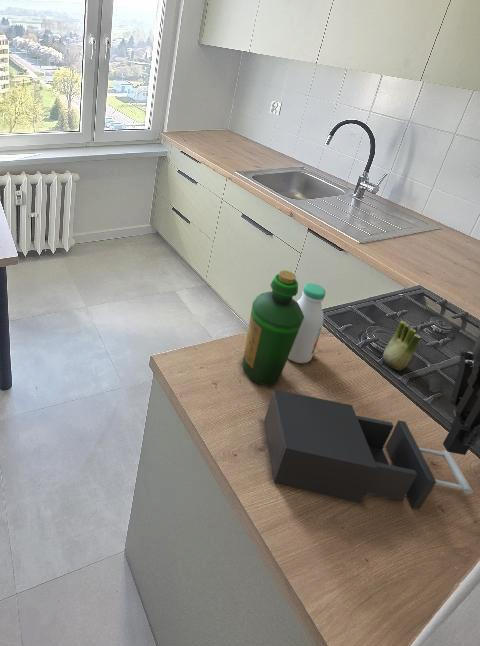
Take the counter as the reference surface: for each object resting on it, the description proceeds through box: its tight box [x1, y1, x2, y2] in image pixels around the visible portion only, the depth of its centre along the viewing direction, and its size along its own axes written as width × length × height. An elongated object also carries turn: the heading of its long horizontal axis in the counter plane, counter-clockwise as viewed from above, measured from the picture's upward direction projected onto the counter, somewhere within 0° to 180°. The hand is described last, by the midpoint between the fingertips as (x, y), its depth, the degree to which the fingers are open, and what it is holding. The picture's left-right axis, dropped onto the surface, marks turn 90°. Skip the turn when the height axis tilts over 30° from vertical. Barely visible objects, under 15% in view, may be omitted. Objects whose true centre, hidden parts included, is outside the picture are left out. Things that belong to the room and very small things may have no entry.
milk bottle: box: [287, 282, 326, 364], centre depth 102 cm, size 8×8×20 cm
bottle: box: [242, 270, 304, 386], centre depth 94 cm, size 11×11×28 cm
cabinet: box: [263, 389, 377, 504], centre depth 79 cm, size 15×13×10 cm
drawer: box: [356, 414, 474, 511], centre depth 76 cm, size 21×11×8 cm, turn 78°
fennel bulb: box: [382, 320, 421, 372], centre depth 101 cm, size 6×5×12 cm
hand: (453, 449), depth 73 cm, fingers closed
